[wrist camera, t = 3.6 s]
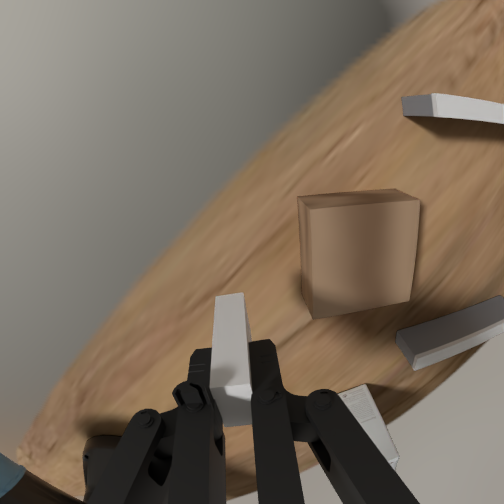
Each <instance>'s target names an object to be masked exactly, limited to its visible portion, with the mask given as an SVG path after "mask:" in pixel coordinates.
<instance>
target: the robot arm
mask: <svg viewBox="0 0 504 504" xmlns="http://www.w3.org/2000/svg"><path fill="white" fill-rule="evenodd" d="M189 366H190V367H189V371H188V372H189V373H188V378H187V381H185V382H182V383H180V384H179V385H177V386H176V387H175V388H174V390H173V393H172V395H173V397H174V399H175V401H176V403H177V404H178V407H177V408H175V409H173V410H170V411H167V412H164V413H160V414H159V413H158V412H157V411H156V410H153V409H144V410H140V411H139V412H137V413H136V414H135V415H134V416H133V417H132V419H131V421H130V423H129V424H128V426H127V428H126V430H125V432H124V434H123V436H122V437H117V436H95V437H92V438H90V439H89V440H88V441H87V442H86V444H85V448H84V451H83V469H84V479H85V487H86V491H85V495H84V500H83V501H80V500H79V499H77V498H75V497H73V496H71V495H69V494H67V493H65V492H63V491H61V490H60V489H58V488H56V487H54V486H52V485H51V484H49V483H47V482H45V481H44V480H42V479H40V478H39V477H37V476H36V475H34V474H32V473H31V472H29V471H28V470H26V468H25V467H23V466H22V465H18V464H17V463H15V462H13V461H11V460H10V459H9V458H7V457H6V456H4V455H3V454H1V453H0V504H226V469H225V436H224V433H223V424H224V427H232V426H242V425H250V424H252V427H253V440H254V453H255V465H256V477H257V489H258V501H259V504H305V503H304V497H303V491H302V486H301V480H300V474H299V469H298V463H297V458H296V452H295V447H294V441H300V442H308V444H309V446H310V448H311V449H312V451H313V453H314V455H315V457H316V458H317V460H318V462H319V463H320V465H321V467H322V469H323V470H324V472H325V474H326V476H327V477H328V479H329V480H330V482H331V484H332V486H333V487H334V489H335V491H336V492H337V494H338V496H339V497H340V499H341V501H342V502H343V504H420V503H419V502H418V501H417V499H416V498H415V497H414V495H413V494H412V493H411V492H410V490H409V489H408V488H407V486H406V485H405V484H404V482H403V481H402V480H401V478H400V477H399V476H398V474H397V473H396V472H395V470H394V469H393V468H392V466H391V465H390V464H389V462H388V461H387V460H386V458H385V457H384V456H383V454H382V453H381V452H380V450H379V449H378V448H377V446H376V445H375V444H374V442H373V441H372V440H371V438H370V437H369V436H368V434H367V433H366V432H365V430H364V429H363V428H362V426H361V425H360V424H359V422H358V421H357V419H356V418H355V417H354V415H353V414H352V413H351V411H350V410H349V409H348V407H347V406H346V405H345V403H344V402H343V400H342V399H341V398H340V396H339V395H338V394H337V393H336V392H334V391H332V390H329V389H320V390H316V391H314V392H312V393H310V394H309V396H298V395H293V394H291V393H289V392H288V391H286V390H285V388H284V387H283V384H282V379H281V374H280V368H279V363H278V358H277V352H276V347H275V345H274V343H273V342H272V341H271V340H270V339H266V340H259V341H253V342H252V340H251V330H250V325H249V320H248V315H247V309H246V304H245V299H244V293H243V292H242V293H236V294H229V295H222V296H216V301H215V314H214V327H213V341H212V348H204V349H196V350H195V351H194V353H193V354H192V356H191V357H190V364H189Z"/></svg>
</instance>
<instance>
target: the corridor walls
mask: <svg viewBox="0 0 504 504" xmlns="http://www.w3.org/2000/svg"><path fill="white" fill-rule="evenodd" d="M401 98H402V106H403V116H427V117H444V118H458V119H469V120H478V121H487V122H494V123H501V124H504V104H500V103H495V102H490V101H485V100H480V99H474V98H468V97H461V96H454V95H446V94H438V93H432V94H429V95H417V96H407V97H401ZM503 332H504V298H503V297H502V296H500V295H499V296H497V297H494V298H492V299H489V300H487V301H484V302H482V303H479V304H476V305H474V306H471V307H468V308H466V309H463V310H460V311H457V312H455V313H452V314H449V315H446V316H443V317H440V318H437V319H434V320H431V321H428V322H425V323H422V324H418V325H415V326H412V327H408V328H405V329H402V330H398V331H397V335H396V341H395V342H396V344H397V345H398V347H399V348H400V350H401V351H402V353H403V354H404V356H405V357H406V359H407V360H408V362H409V363H410V365H411V366H412V368H413V370H414V371H415V370H418V369H421V368H423V367H426V366H429V365H431V364H434V363H437V362H439V361H442V360H444V359H447V358H449V357H452V356H454V355H456V354H459V353H461V352H463V351H466V350H468V349H470V348H472V347H474V346H477V345H479V344H481V343H483V342H485V341H487V340H489V339H491V338H493V337H495V336H497V335H499V334H501V333H503Z"/></svg>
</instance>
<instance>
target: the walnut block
mask: <svg viewBox="0 0 504 504" xmlns="http://www.w3.org/2000/svg"><path fill="white" fill-rule="evenodd" d="M297 202H298V218H299V236H300V257H301V282H302V295H303V297H304V300H305V302H306V305H307V307H308V309H309V312H310V314H311V316H312V319H313V320H314V319H320V318H325V317H331V316H337V315H342V314H348V313H353V312H358V311H363V310H369V309H374V308H378V307H383V306H388V305H393V304H397V303H402V302H406V301H409V299H410V293H411V287H412V280H413V273H414V266H415V257H416V248H417V238H418V227H419V212H420V200H419V199H417V198H415V197H412V196H410V195H408V194H406V193H403V192H401V191H399V190H396V189H382V190H367V191H354V192H341V193H329V194H318V195H308V196H297Z"/></svg>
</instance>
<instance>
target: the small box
mask: <svg viewBox="0 0 504 504" xmlns="http://www.w3.org/2000/svg"><path fill="white" fill-rule="evenodd" d="M338 395H339V396H340V398H341V399H342V400H343V402H344V403H345V405H346V406H347V407H348V409H349V410H350V411H351V413H352V414H353V415H354V417H355V418H356V419H357V421H358V422H359V424H360V425H361V426H362V428H363V429H364V430H365V432H366V433H367V434H368V436H369V437H370V438H371V440H372V441H373V442H374V444H375V445H376V446H377V448H378V449H379V450H380V452H381V453H382V454H383V456H384V457H385V458H386V460H387V461H388V462H389V464H390V465H391V466H392V468H393V469H394V470H395V469H396V465H397V462H398V459H399V454H398V452H397V449H396V447H395V445H394V443H393V441H392V438H391V436H390V434H389V432H388V429H387V427H386V425H385V423H384V421H383V418H382V416H381V414H380V412H379V410H378V408H377V406H376V404H375V402H374V400H373V398H372V396H371V394H370V391H369V389H368V388H367V386H366V384H363V385H360V386H358V387H355V388H352V389H350V390H347V391H344V392H341V393H339V394H338Z"/></svg>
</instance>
